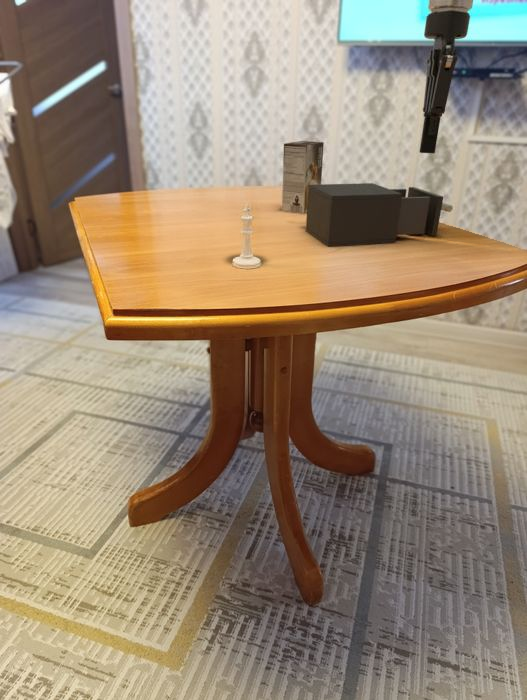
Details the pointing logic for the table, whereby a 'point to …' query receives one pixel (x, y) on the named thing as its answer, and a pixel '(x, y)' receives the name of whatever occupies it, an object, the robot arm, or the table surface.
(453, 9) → the robot arm
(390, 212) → the cabinet
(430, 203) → the drawer
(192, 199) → the table surface
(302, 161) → the coffee box
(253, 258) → the chess piece
